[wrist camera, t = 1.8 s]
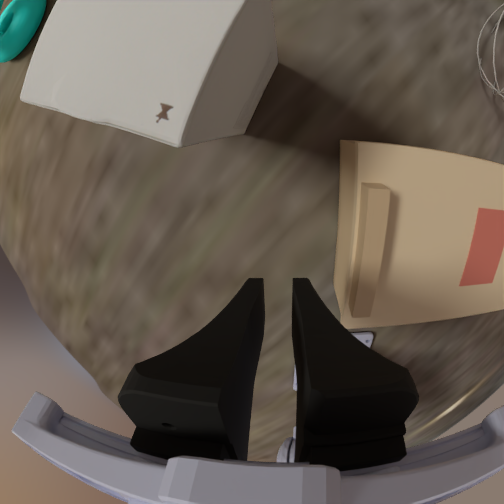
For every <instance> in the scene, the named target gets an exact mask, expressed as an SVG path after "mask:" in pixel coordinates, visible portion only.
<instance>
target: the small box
mask: <svg viewBox="0 0 504 504" xmlns="http://www.w3.org/2000/svg"><path fill="white" fill-rule="evenodd" d="M277 64H278V53H277V41H276V35H275V25H274V17H273V10H272V3H271V0H57V1H56V3H55V5H54V7H53V9H52V11H51V13H50V15H49V17H48V19H47V21H46V23H45V26H44V28H43V30H42V32H41V35H40V37H39V40H38V42H37V45H36V47H35V50H34V53H33V56H32V58H31V61H30V64H29V67H28V71H27V74H26V77H25V81H24V84H23V88H22V91H21V95H20V99H21V101H22V102H25V103H29V104H33V105H36V106H40V107H44V108H48V109H51V110H55V111H59V112H62V113H65V114H68V115H70V116H73V117H76V118H79V119H83V120H87V121H91V122H93V123H97V124H103V125H108V126H112V127H116V128H119V129H122V130H126V131H129V132H132V133H135V134H138V135H141V136H144V137H147V138H150V139H153V140H156V141H159V142H162V143H165V144H168V145H170V146H173V147H177V148H182V147H186V146H190V145H194V144H198V143H202V142H207V141H211V140H216V139H221V138H226V137H230V136H235V135H243V134H244V133H245V131H246V129H247V127H248V124H249V122H250V120H251V118H252V116H253V114H254V111H255V109H256V107H257V105H258V103H259V101H260V99H261V97H262V94H263V92H264V90H265V88H266V86H267V84H268V82H269V80H270V78H271V76H272V74H273V72H274V70H275V68H276V66H277Z"/></svg>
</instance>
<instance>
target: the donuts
mask: <svg viewBox="0 0 504 504" xmlns="http://www.w3.org/2000/svg"><path fill="white" fill-rule="evenodd" d="M3 1H4V0H0V10H1V7H2V4H3ZM45 7H46V0H13V1H12V2H11V3H10V4H9V5H8V6H7V7H6V9H5V10H4V11H3V13H2V14H1V16H0V62H7V61H10V60H12V59H13V58H15V57H16V56H17V55H18V54H19V53H20V52H21V51H22V50H23V49H24V48H25V47H26V46H27V44H28V43H29V42H30V40H31V39H32V37H33V36H34V34H35V32H36V30H37V29H38V27H39V25H40V22H41V20H42V17H43V15H44V12H45Z"/></svg>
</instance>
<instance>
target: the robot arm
mask: <svg viewBox="0 0 504 504" xmlns="http://www.w3.org/2000/svg"><path fill="white" fill-rule="evenodd" d="M264 324H265V304H264V283H263V278H249V279H248V280H247V281H246V282H245V283H244V285H243V286H242V288H241V289H240V290H239V291H238V293H237V294H236V295H235V296H234V298H233V299H232V300H231V301H230V302H229V304H228V305H227V306H226V307H225V308H224V309H223V310H222V311H221V312H220V313H219V314H218V315H217V316H216V317H215V318H214V319H213V320H212V321H211V322H210V323H208V324H207V325H206V326H205V327H204V328H202V329H201V330H200V331H199V332H197V333H196V334H194V335H193V336H191V337H190V338H188V339H187V340H185V341H184V342H182V343H181V344H179V345H177V346H175V347H173V348H172V349H170V350H168V351H166V352H164V353H162V354H159V355H157V356H155V357H152V358H150V359H147V360H145V361H142V362H140V363H137V364H135V365H134V367H133V368H132V370H131V371H130V373H129V375H128V377H127V379H126V381H125V383H124V385H123V387H122V389H121V391H120V393H119V395H118V401H119V404H120V405H121V407H122V409H123V410H124V411H125V413H126V414H127V415H128V416H129V418H130V419H131V420H132V421H133V423H134V424H135V425H136V426H137V427H136V429H135V431H134V434H133V436H132V439H130V438H128V437H124V436H122V435H118V434H116V433H113V432H110V431H107V430H105V429H102V428H99V427H97V426H94V425H92V424H89V423H87V422H85V421H82V420H80V419H78V418H75V417H73V416H71V415H69V414H67V413H65V412H64V411H63V410H62V408H61V407H60V406H59V405H58V404H57V403H56V402H55V401H53V400H52V399H50V398H48V397H46V396H44V395H43V394H41V393H39V392H35V393H34V394H33V396H32V397H31V399H30V401H29V402H28V404H27V405H26V407H25V408H24V410H23V412H22V413H21V415H20V417H19V418H18V420H17V422H16V423H15V425H14V427H13V428H12V432H13V433H14V434H15V435H16V436H17V437H18V438H20V439H21V440H22V441H23V442H24V443H25V444H27V445H28V446H29V447H30V448H32V449H33V450H34V451H35V452H37V453H38V454H39V455H41V456H42V457H43V458H45V459H46V460H48V461H49V462H51V463H52V464H54V465H56V466H57V467H58V468H60V469H62V470H63V471H65V472H67V473H69V474H70V475H72V476H74V477H75V478H77V479H79V480H81V481H83V482H84V483H86V484H88V485H90V486H92V487H94V488H96V489H98V490H100V491H102V492H104V493H107V494H109V495H111V496H113V497H115V498H118V499H120V500H123V501H125V502H127V503H128V504H436V503H438V502H441V501H443V500H446V499H448V498H450V497H452V496H455V495H457V494H459V493H461V492H463V491H465V490H467V489H469V488H471V487H473V486H475V485H477V484H478V483H480V482H482V481H484V480H486V479H488V478H489V477H491V476H493V475H494V474H496V473H497V472H499V471H500V470H502V469H503V468H504V405H503V406H501V407H499V408H497V409H495V410H494V411H492V412H491V413H490V414H489V415H488V416H486V418H485V419H484V420H483V421H482V423H480V424H478V425H475V426H473V427H471V428H468V429H466V430H463V431H460V432H458V433H455V434H453V435H450V436H447V437H444V438H441V439H438V440H435V441H431V442H428V443H425V444H421V445H417V446H414V447H410V448H406V447H405V442H404V437H403V435H405V433H406V428H405V424H404V422H405V421H406V419H407V418H408V417H409V415H410V414H411V413H412V411H413V410H414V409H415V407H416V405H417V403H418V401H419V395H418V392H417V389H416V386H415V383H414V381H413V379H412V377H411V375H410V373H409V371H408V369H406V368H404V367H402V366H400V365H398V364H396V363H394V362H392V361H390V360H388V359H386V358H385V357H383V356H381V355H380V354H378V353H377V352H375V351H373V350H372V349H370V347H371V343H372V340H373V333H371V332H363V333H350V332H349V331H348V330H347V329H346V328H345V327H344V326H343V325H342V324H341V323H340V322H339V321H338V320H337V319H336V318H335V316H334V315H333V314H332V313H331V312H330V310H329V309H328V308H327V307H326V305H325V304H324V303H323V301H322V300H321V298H320V297H319V296H318V294H317V292H316V291H315V289H314V288H313V286H312V284H311V282H310V280H309V279H308V278H293V293H292V340H293V349H294V358H295V371H294V383H293V389H294V390H297V412H296V426H295V427H294V434H293V437H289V438H287V439H286V440H285V441H284V443H283V444H282V445H281V447H280V448H279V451H278V455H277V462H256V461H247V454H248V441H249V430H250V419H251V409H252V399H253V389H254V381H255V375H256V370H257V366H258V361H259V356H260V351H261V346H262V341H263V336H264ZM368 339H369V340H368Z"/></svg>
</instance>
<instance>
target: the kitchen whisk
mask: <svg viewBox="0 0 504 504" xmlns="http://www.w3.org/2000/svg"><path fill="white" fill-rule="evenodd" d="M503 5H504V4H502V5H501V6H500V7H499V8H497V9H496V10H495V11H494V12H493V13H492V15H491V16H490V17H489V18H488V20H487V21H486V23H485V24H484V26H483V28H482V30H481V33H480V36H479V39H478V45H477V56H478V61H479V69H480V74H481V78H482V73H481V70H482V68H481V59H482V58H481V59H480V60H479V55H478V50H479V40H480V37H481V34H482V31H483V29H484V28H485V26H486V24H487V22H488V21H489V20H490V18H491V17H492V16H493V14H494V13H495V12H496V11H497V10H498V9H500V8H501V7H502V6H503ZM503 16H504V11H503V13H502V14H501V16H500V19H499V20H498V22H497V23H496V25H495V26H494V28H493V30H492V32H491V34H492V33H493V31H494V29H495V27H496V26H497V29H496V33H495V38H494V46H493V66H494V74H495V82H494V86H493V85H492V84H491V83H490V82H489V81H488V79H487V77H486V75H485V73H484V72H483V70H482V72H483V74H484V76H485V78H486V80H487V81H488V82H489V84H490V85H491V86H492V87H491V86H489V85H488V84H487V83H486V81H485V80H484V79H483V78H482V79H483V81H484V82H485V83H486V84H487V86H488V87H490V88H492V89H493V94H494V90H496V91H497V92H498V93H497V94H494V96H497V95H500V96H501V97H502V99H503V97H504V96H503V95H501V93H504V92H502V91H503V90H504V88H503V89H502V90H501V91H500V89H499V86H498V82H497V77H496V71H495V42H496V35H497V31H498V27H499V24H500V21H501V18H502V17H503ZM495 83H496V84H497V87H498V90H497V89H496V88H495ZM503 101H504V99H503Z"/></svg>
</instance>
